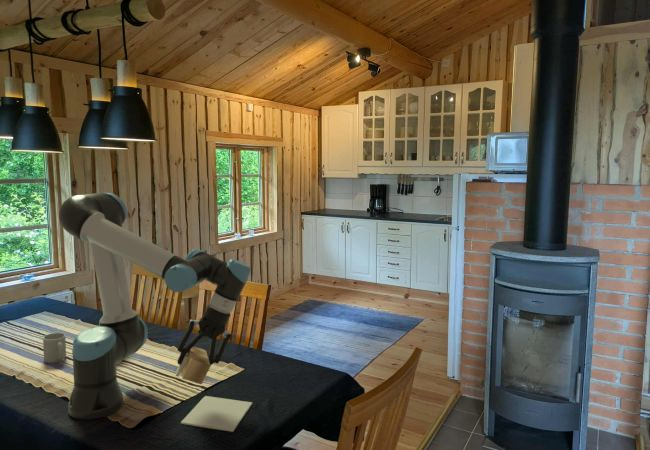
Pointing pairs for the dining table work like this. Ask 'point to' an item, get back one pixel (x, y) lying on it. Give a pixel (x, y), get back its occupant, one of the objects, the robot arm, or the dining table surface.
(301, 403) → the dining table surface
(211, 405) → the cream square board
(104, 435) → the dining table surface
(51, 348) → the cup
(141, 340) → the robot arm
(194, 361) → the oak block
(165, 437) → the dining table surface
